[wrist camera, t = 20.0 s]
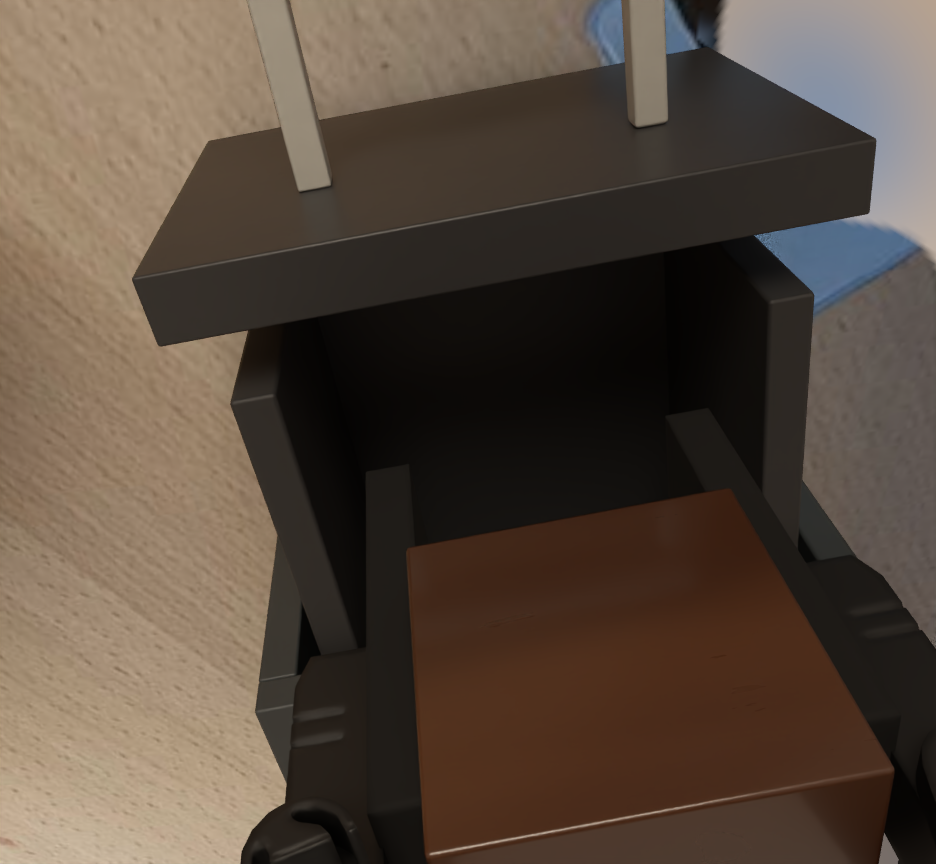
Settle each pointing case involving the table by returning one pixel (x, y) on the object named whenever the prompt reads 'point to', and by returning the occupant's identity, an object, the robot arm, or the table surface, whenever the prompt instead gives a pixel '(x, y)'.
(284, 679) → the cabinet
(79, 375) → the table surface
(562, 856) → the block
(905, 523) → the table surface
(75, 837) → the table surface
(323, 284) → the drawer
